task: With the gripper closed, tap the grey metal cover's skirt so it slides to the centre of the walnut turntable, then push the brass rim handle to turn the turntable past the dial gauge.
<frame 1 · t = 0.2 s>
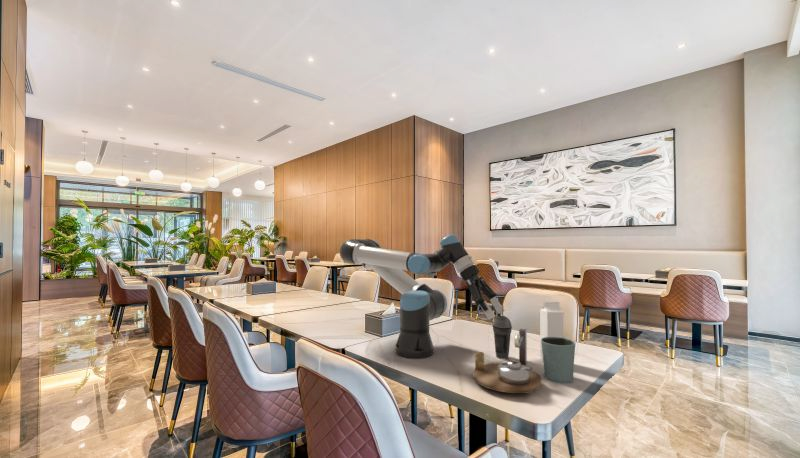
hand: (497, 315, 136), 16 cm above the table, tool tilted 35°, fingers open, 13 cm apart
cover: (513, 379, 105), point 3 cm above the table, touching turntable
milk: (551, 362, 129), on the table
grey-green tumbler: (558, 378, 114), on the table
turntable: (506, 368, 109), point 5 cm above the table, hinge at 0.0°, touching cover
dial gauge: (523, 371, 120), on the table
beverage cup: (502, 357, 135), on the table
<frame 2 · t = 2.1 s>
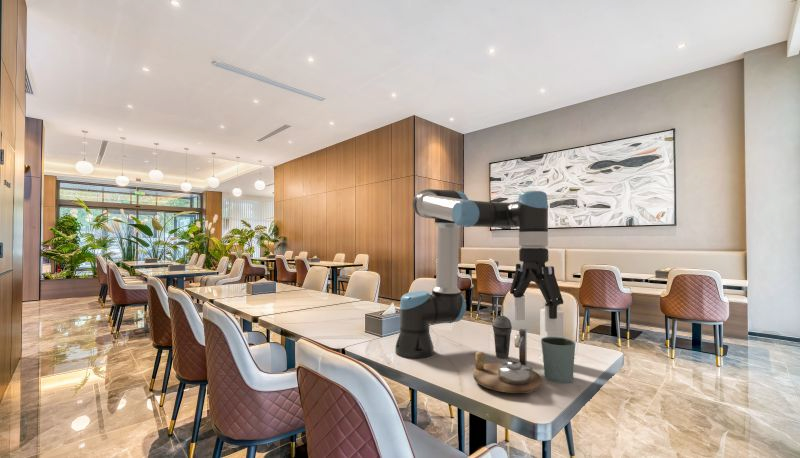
hand: (534, 325, 97), 21 cm above the table, tool pointing down, fingers open, 13 cm apart
nothing on the table moved.
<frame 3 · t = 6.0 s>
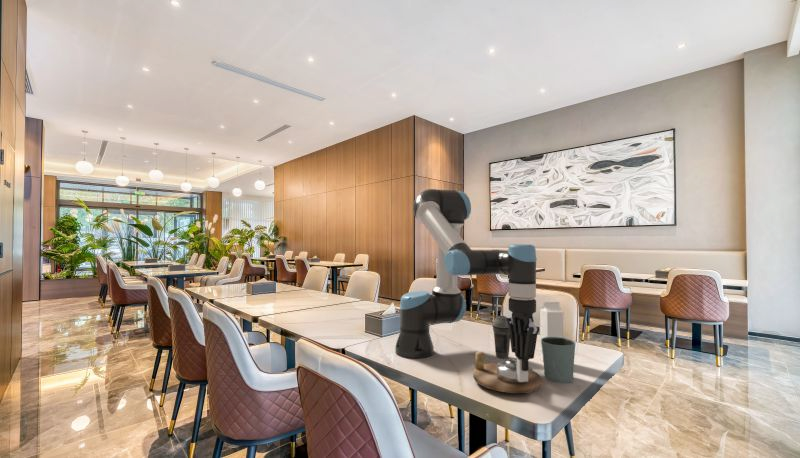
hand: (522, 380, 101), 4 cm above the table, tool pointing down, fingers closed
cover: (512, 378, 106), point 3 cm above the table, touching gripper
turntable: (506, 368, 109), point 5 cm above the table, hinge at 0.0°
everything else where it was.
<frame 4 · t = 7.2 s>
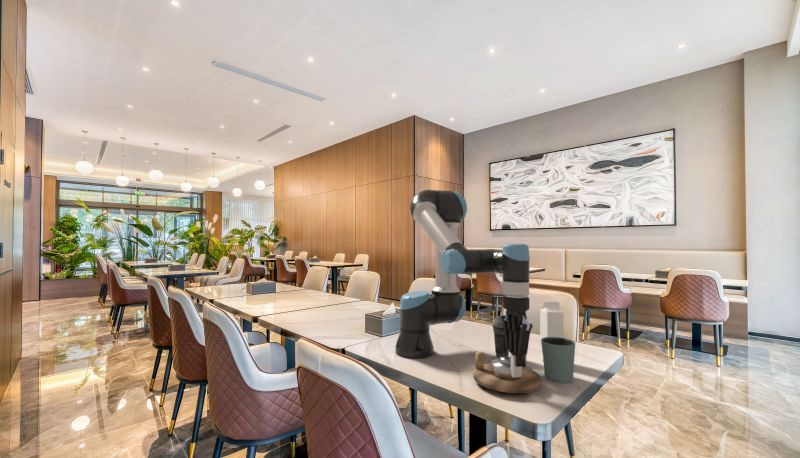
hand: (516, 376, 104), 4 cm above the table, tool pointing down, fingers closed
cover: (506, 374, 109), point 3 cm above the table, touching gripper, turntable
turntable: (506, 368, 109), point 5 cm above the table, hinge at 0.0°, touching cover
everything else where it was.
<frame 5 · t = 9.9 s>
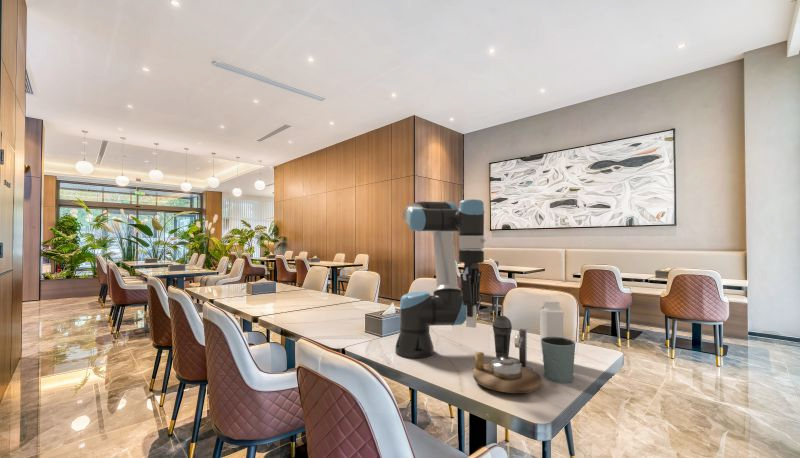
hand: (471, 326, 108), 18 cm above the table, tool pointing down, fingers closed
cover: (506, 374, 109), point 3 cm above the table, touching turntable
everything else where it was.
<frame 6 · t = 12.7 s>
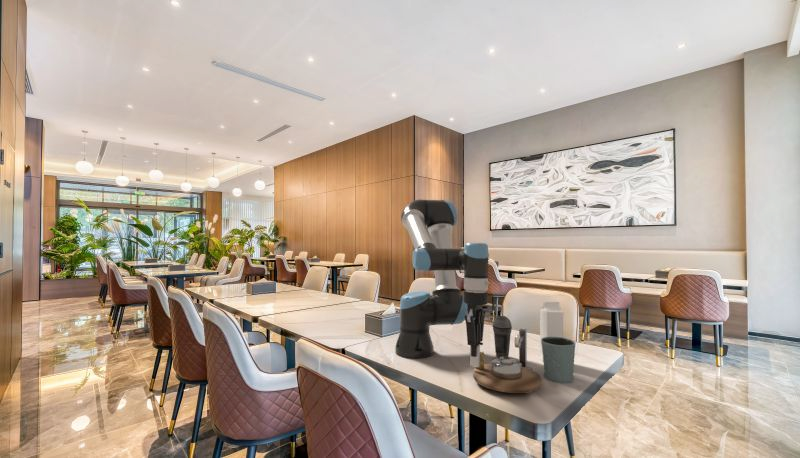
hand: (474, 366, 112), 5 cm above the table, tool pointing down, fingers closed
turntable: (506, 368, 109), point 5 cm above the table, hinge at -2.5°, touching cover, gripper
everything else where it was.
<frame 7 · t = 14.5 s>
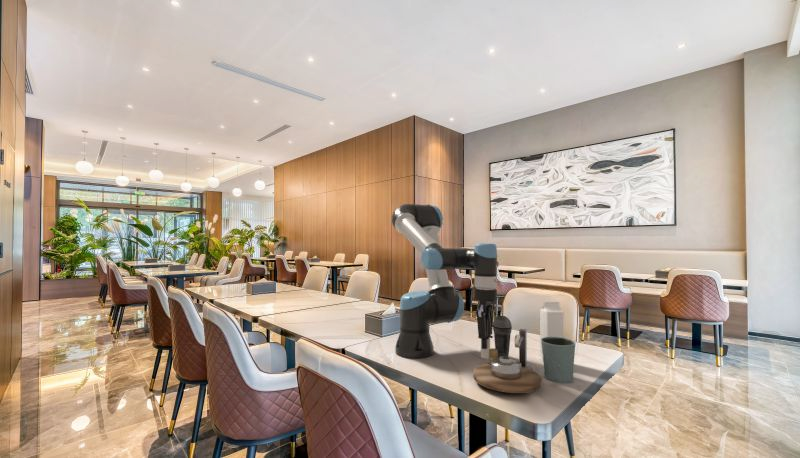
hand: (485, 357, 120), 4 cm above the table, tool pointing down, fingers closed
turntable: (506, 368, 109), point 5 cm above the table, hinge at -47.1°, touching cover
everything else where it was.
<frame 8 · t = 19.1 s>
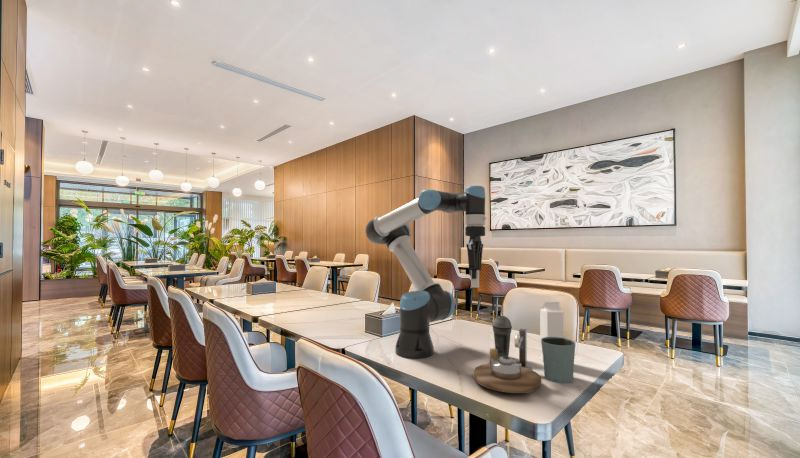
hand: (475, 287, 136), 26 cm above the table, tool pointing down, fingers closed
nothing on the table moved.
at the end: cover 0.2 cm from the turntable (horizontally); cover point 3.0 cm above the table; turntable at -47° (first picture: +0°) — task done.
